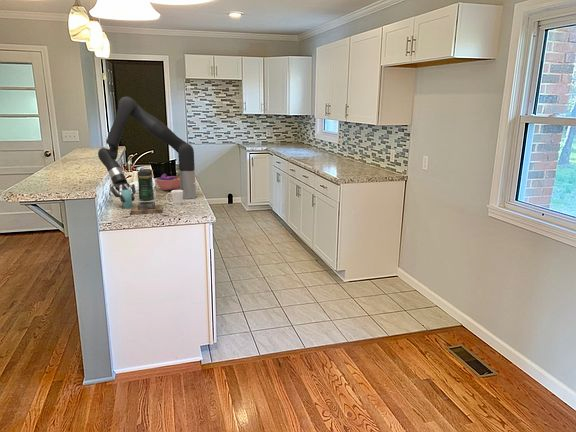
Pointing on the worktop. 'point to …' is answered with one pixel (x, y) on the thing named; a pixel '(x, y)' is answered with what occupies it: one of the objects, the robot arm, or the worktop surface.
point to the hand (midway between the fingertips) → (128, 200)
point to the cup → (176, 197)
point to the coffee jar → (145, 185)
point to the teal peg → (127, 199)
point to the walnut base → (146, 208)
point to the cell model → (168, 182)
